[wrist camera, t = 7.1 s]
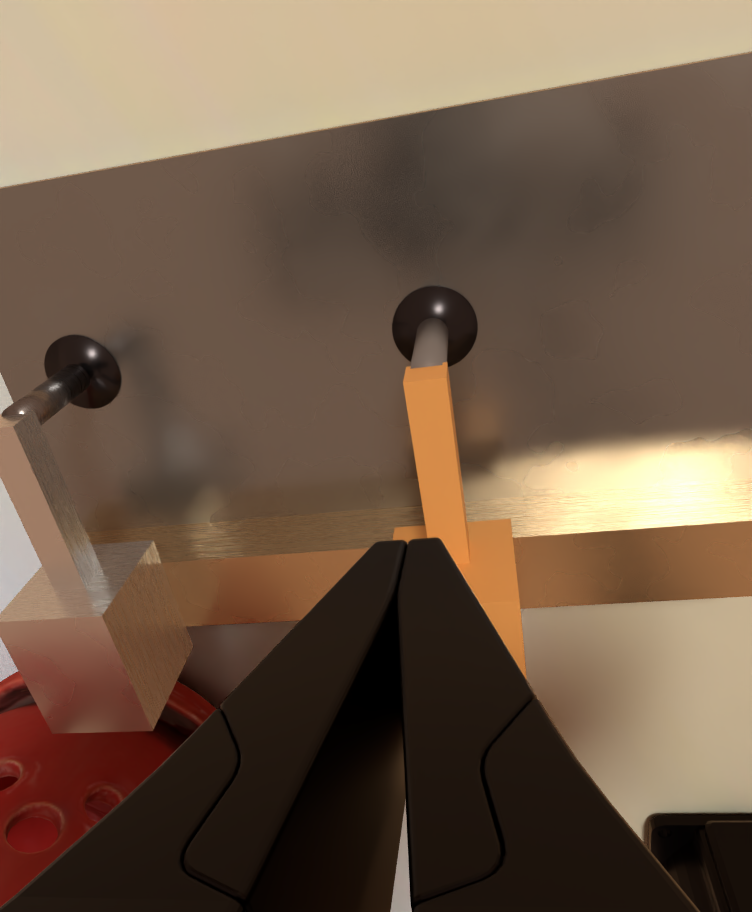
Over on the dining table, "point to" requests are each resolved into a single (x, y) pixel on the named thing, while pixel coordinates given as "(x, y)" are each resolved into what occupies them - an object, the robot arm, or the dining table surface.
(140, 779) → the plant pot
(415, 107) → the dining table surface
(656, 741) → the dining table surface
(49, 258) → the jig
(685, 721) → the dining table surface
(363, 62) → the dining table surface
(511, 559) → the orange block with bar
